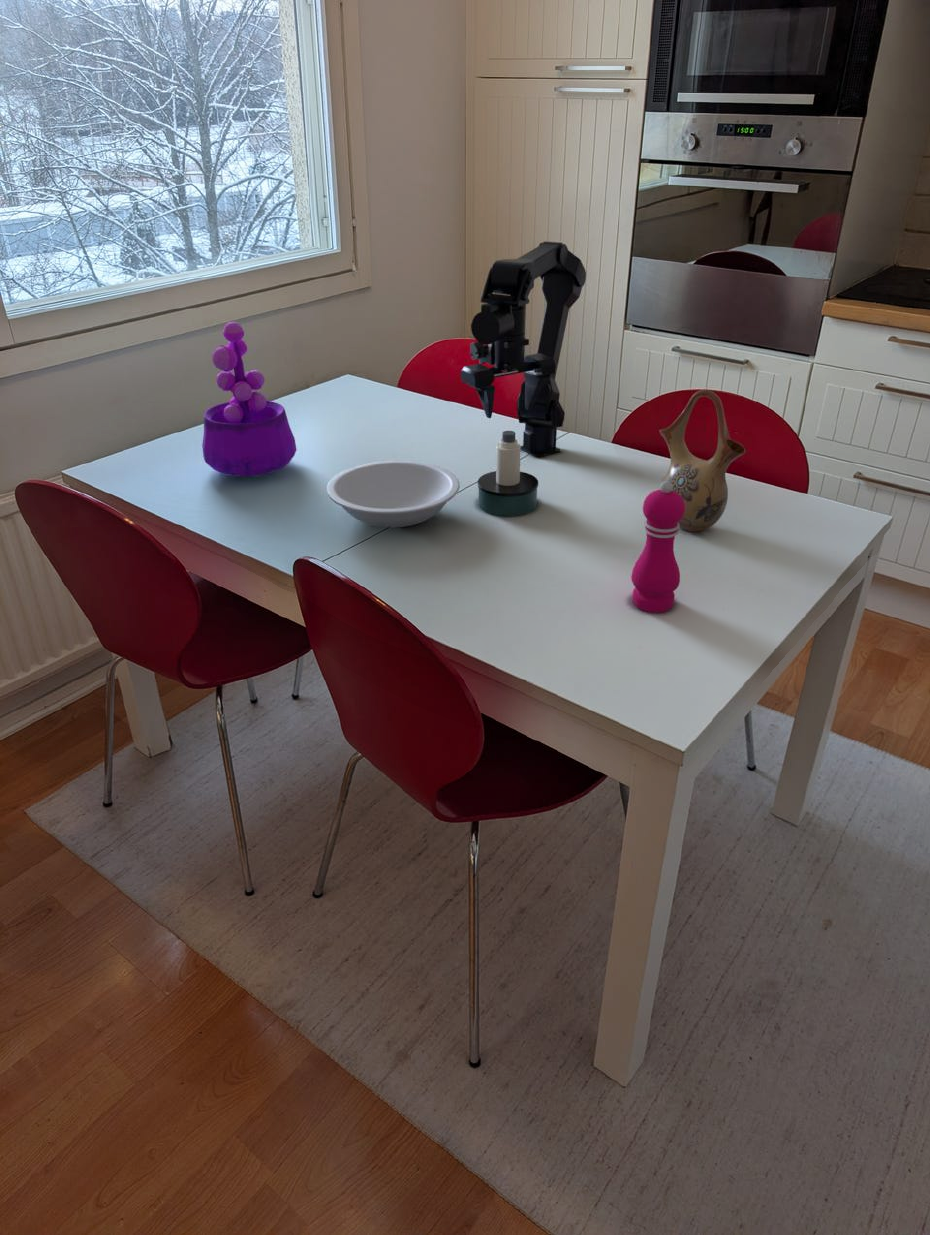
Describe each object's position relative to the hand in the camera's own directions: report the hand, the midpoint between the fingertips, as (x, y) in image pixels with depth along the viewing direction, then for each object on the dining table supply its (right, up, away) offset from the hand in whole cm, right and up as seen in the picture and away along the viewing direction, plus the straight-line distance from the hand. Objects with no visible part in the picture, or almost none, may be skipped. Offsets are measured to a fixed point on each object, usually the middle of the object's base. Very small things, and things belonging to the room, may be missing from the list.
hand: (508, 413), depth 175 cm
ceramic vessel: (+32, -24, -15) cm, 43 cm away
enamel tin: (0, -18, -6) cm, 19 cm away
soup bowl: (-22, -22, -10) cm, 32 cm away
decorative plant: (-53, -10, +10) cm, 55 cm away
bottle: (-1, -15, -8) cm, 17 cm away
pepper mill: (+20, -38, -38) cm, 57 cm away
